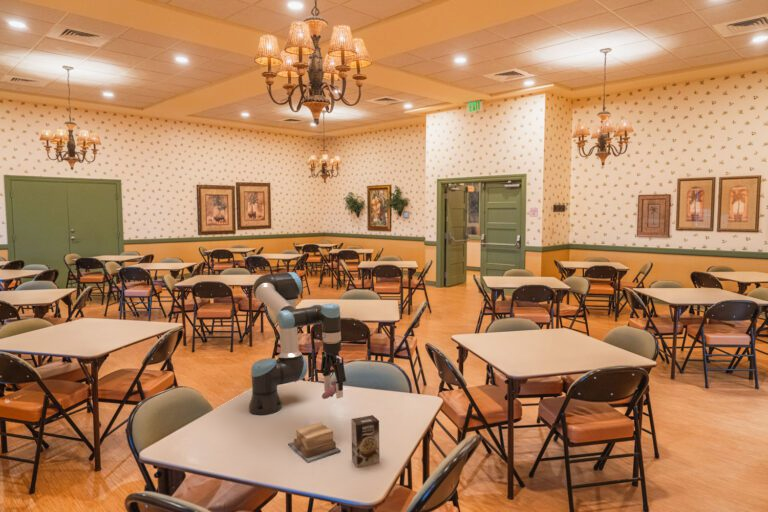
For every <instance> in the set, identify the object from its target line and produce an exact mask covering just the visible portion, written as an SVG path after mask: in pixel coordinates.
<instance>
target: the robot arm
mask: <svg viewBox="0 0 768 512" xmlns="http://www.w3.org/2000/svg"><path fill="white" fill-rule="evenodd" d="M252 292H253V296H254V297H255V298H256V299H257V301H259V302H260V303H264V305H265V306H267V308H268V309H270V311H271V312H273V313H274V315H276V322H277V324H278V327H279V339H280V340H279V341H280V353H279V354H278V355H277V357H278V358H277V360H276V359H275V358H272V357H269V358H267V357H266V358H263V359H262V358H261V359H260V360H257V361H255V362H254V363H253V364H252V365H251V370H250V371H251V372H250V373H251V374H250V375H251V390H252V391H251V392H252V395H251V398H250V402H249V406H248V408H249V409H248V411H249V412H250V413H251V414H253V415H258V416H261V415H262V416H264V415H271V414H275V413H276V412H279V411H280V410H282V401H281V398H280V395H279V393H278V386H279V385H284V384H290V383H296V382H298V381H299V382H300V381H301V380H303V379H305V377H306V376H307V372H308V362H307V358H306V356H304V355H303V354H302V352H301V351H300V349H299V337H298V336H299V335H298V328H302V327H305V326H306V327H308V326H312V325H321V327H322V328H321V329H322V331H321V332H322V336H321V337H322V351H321V366H320V373H321V374H322V376H323V390H324V392H326V391H327V390H328V388H329V387H330V386H331V383H332V382H331V373H330V371H331V369H332V368H333V371H334V375H335V379H336V380H335V381H337V382H336V393H335V394H336V400H337V399H341V398H344V382H345V383H346V381H347V379H346V371H345V365H344V357H343V356H342V357H340V354H339V352H340V351H342V342H341V341H342V334H341V331H342V330H341V310H340V309H341V307H340V305H339V304H337V303H334V302H333V303H324V304H322V305H321V304H313V305H311V306H307V307H301V308H297V307H296V303H297V301H298V300H299V296H300V295H301V294H302V293H303V282H302V280H301V278H300V276H299V274H298V273H296V272H294V271H286V272H284V271H283V272H274V273H265V274H262V275H261V276H259V277H258V278H257V279H256V280H255V281H254V283H253V285H252Z"/></svg>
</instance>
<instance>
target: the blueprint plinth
mask: <svg viewBox="0 0 768 512" xmlns="http://www.w3.org/2000/svg"><path fill="white" fill-rule="evenodd" d="M295 432H296V433H295V434H296V435H295V437H296V438H294V440H293V441H292V442H289V443H287V445H288V447H289V446H290V449H292V450H293V452H295V453H296V454H297V455H298V456H299V457H300V458H302V459H303V460H304V461H305V462H306V463H307V464H309V463H313V462H315V461H318V460H322V459H325V458H327V457H330V456H333V455H336V454H338V453H341V449H340V448H339V447H337V446H336V443H337V442H336V441H335V440H334V431H333V430H332V429H331V428H329V427H327V425H325V424H324V423H323V422H318V423H315V424H312V425H309V426H308V425H307V426H304V427H302V428H301V427H300V428H297V429H296V430H295Z"/></svg>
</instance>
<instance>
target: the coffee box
mask: <svg viewBox="0 0 768 512" xmlns="http://www.w3.org/2000/svg"><path fill="white" fill-rule="evenodd" d="M350 422H351V423H350V424H351V429H350V430H351V460H352V462H353V463H354V465H355V466H356V468H360V467H361V468H362V467H365V466H368V465H374V464H379V463H380V454H381V452H380V420H379V419H378V418H377V417H375V416H374V414H373V415H372V414H371V415H366V416H360V417H355V418H351V420H350Z"/></svg>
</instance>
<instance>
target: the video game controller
mask: <svg viewBox="0 0 768 512" xmlns="http://www.w3.org/2000/svg"><path fill="white" fill-rule="evenodd" d="M336 382H337V380H334V381H332V382H331V386H330V387H329V388H328V390H327V391H326V392H325V391H324V392H323V393H322V394H321V398H322V400H326V399H328V398H330V397H331V398H333V396H334V395H335V394H336Z"/></svg>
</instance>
